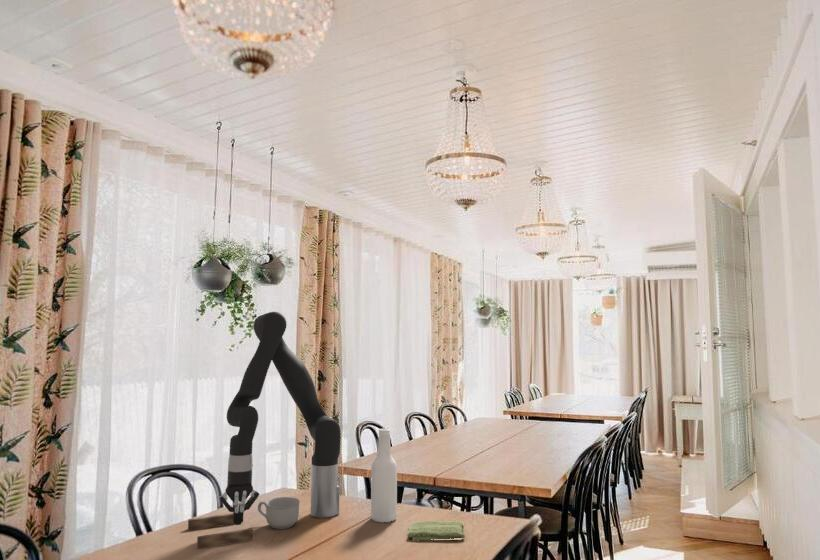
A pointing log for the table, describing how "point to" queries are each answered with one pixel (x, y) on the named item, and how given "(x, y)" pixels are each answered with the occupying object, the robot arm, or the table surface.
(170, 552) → the table surface
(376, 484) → the alcohol
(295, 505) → the teacup
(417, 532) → the washcloth
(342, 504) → the table surface
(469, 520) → the table surface
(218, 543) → the pair of wooden slats
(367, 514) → the table surface
